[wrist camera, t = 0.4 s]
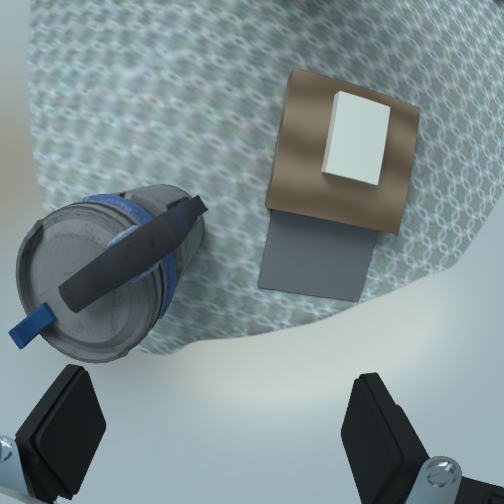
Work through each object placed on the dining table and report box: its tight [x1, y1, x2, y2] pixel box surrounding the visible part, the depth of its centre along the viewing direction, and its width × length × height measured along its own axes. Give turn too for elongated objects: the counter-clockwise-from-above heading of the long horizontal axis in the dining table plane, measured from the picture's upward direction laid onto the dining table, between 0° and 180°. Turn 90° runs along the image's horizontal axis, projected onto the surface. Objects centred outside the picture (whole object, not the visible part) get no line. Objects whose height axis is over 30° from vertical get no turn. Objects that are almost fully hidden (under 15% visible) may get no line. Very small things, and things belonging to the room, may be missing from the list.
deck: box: [265, 68, 420, 235], centre depth 34 cm, size 16×16×4 cm
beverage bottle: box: [9, 184, 208, 363], centre depth 25 cm, size 10×13×25 cm
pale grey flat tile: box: [321, 91, 390, 185], centre depth 30 cm, size 9×6×2 cm, turn 170°
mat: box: [258, 209, 378, 301], centre depth 39 cm, size 10×14×1 cm
